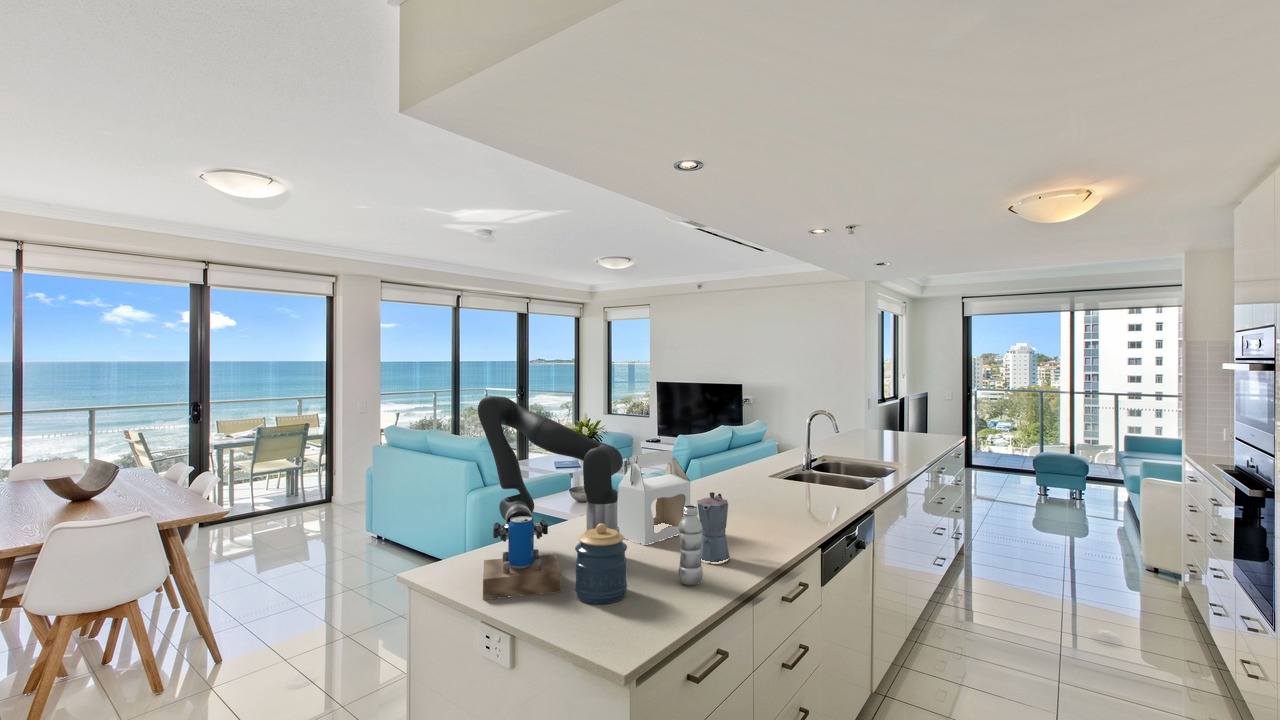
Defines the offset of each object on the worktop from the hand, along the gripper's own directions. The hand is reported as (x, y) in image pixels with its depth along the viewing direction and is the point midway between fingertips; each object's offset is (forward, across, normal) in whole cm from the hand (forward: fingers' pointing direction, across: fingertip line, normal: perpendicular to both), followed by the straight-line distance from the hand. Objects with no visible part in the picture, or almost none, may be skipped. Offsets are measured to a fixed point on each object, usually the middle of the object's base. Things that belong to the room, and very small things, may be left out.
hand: (521, 536), depth 144 cm
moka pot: (-8, +56, +13) cm, 58 cm away
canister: (+9, +19, +13) cm, 25 cm away
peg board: (-2, 0, +13) cm, 13 cm away
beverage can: (-2, 0, +8) cm, 8 cm away
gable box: (-36, +46, +13) cm, 60 cm away
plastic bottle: (+8, +43, +13) cm, 46 cm away
